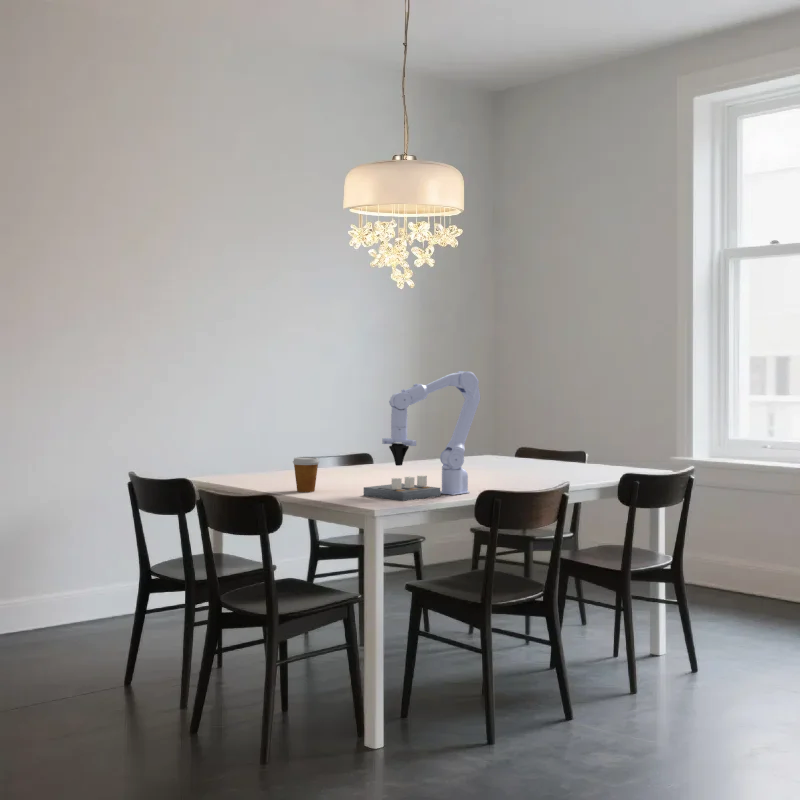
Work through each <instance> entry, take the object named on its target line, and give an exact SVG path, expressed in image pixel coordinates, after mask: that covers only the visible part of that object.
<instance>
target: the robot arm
mask: <svg viewBox="0 0 800 800" xmlns="http://www.w3.org/2000/svg"><path fill="white" fill-rule="evenodd" d="M479 384H480V381H479V379H478V378H477V375H476V374H475V373H474V372H472V371H469V370H468V371H463V370H459V371H456V372H453V373H449V374H447V375H444V376H443V377H439V378H438V379H435V380H434V381H431V382H429V383H427V384H422V383H413V385H412V387H409V388H407V389H404V388H403V389H401V391H400V392H395V393H393V394H392V395H391V396H390V399H389V401H388V403H389V406H390V407H391V413H390V418H391V419H390V438H388V437H385V438H382V443H381V444H383V445H389V447H388V448H389V450H390V452H391V453H392V456H393V460H394V464H395V466H396V467H398V466H399V467H400V466H403V462H404V460H405V456H406V453H407V452H408V449H409V448H410V447H416V446H417V440H416V439H408V407H410V406H412V405H414V404H417V403H419V402H421V401H424V400H426V399H427V397H428V396H429V394H431V393H434V392H436V391H438V390H442V389H444V388H446V387H456V389H457V390H458V391H460V393H461V394H462V396H463V398H464V401H463V404H462V406H461V409H460V412H459V416H458V419H457V420H456V424H455V427H454V429H453V432H452V436H451V437H450V438H451V439H450V440H449V442H448V443H447V444H446V446H445V449H444V450H443V451H442V452H441V453H440V455H439V459H440V462H441V464H442V466H441V490H440V495H441V494H443V495H450V496H454V495H463V494H470V491H469V489H468V488H469V486H468V485H469V484H468V483H469V475H468V472H467V470H466V469H464V468H463V467H462V466H463V465H464V462H465V456H464V455H465V451H466V449H465V444H466V441H467V437H468V435H469V433H470V429H471V427H472V424H473V421H474V418H475V416H476V412H477V409H478V407H479V404H480V400H481V392H480V386H479Z"/></svg>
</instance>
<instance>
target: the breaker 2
mask: <svg viewBox="0 0 800 800" xmlns="http://www.w3.org/2000/svg"><path fill="white" fill-rule="evenodd" d="M427 477H428V476H427V475H424V474H422V475H421V474H419V475H417V476H416V485H417V486H428V484H427V483H428V479H427Z"/></svg>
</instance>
